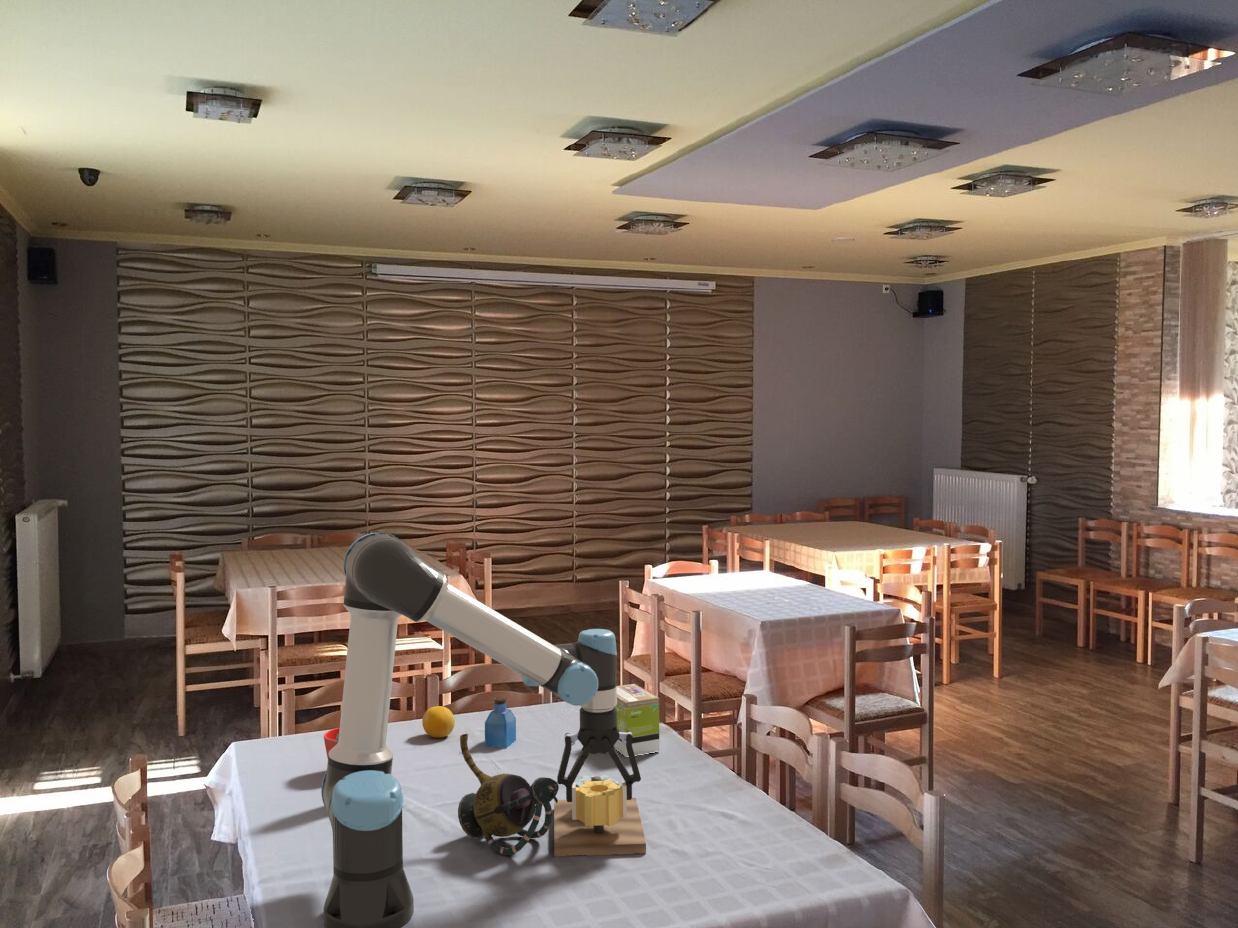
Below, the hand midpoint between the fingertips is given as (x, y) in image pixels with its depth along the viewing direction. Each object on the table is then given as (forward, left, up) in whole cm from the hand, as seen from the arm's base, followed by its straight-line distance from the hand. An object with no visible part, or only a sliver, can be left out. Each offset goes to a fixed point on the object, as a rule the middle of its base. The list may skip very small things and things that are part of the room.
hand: (599, 815), depth 203 cm
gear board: (+5, 0, -5) cm, 7 cm away
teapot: (+6, +27, +2) cm, 28 cm away
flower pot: (+44, +59, -5) cm, 74 cm away
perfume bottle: (+63, +23, -5) cm, 68 cm away
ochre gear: (0, 0, 0) cm, 0 cm away
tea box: (+57, -11, -5) cm, 59 cm away
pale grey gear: (+11, 0, -3) cm, 11 cm away
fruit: (+70, +40, -5) cm, 81 cm away
